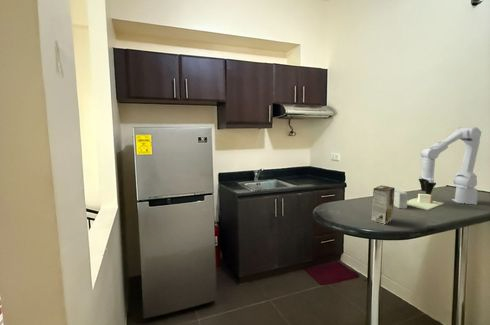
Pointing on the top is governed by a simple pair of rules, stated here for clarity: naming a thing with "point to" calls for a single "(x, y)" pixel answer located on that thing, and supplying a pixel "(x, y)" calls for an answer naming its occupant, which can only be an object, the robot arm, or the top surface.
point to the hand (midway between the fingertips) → (425, 192)
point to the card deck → (425, 198)
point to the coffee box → (383, 204)
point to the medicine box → (400, 199)
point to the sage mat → (423, 204)
